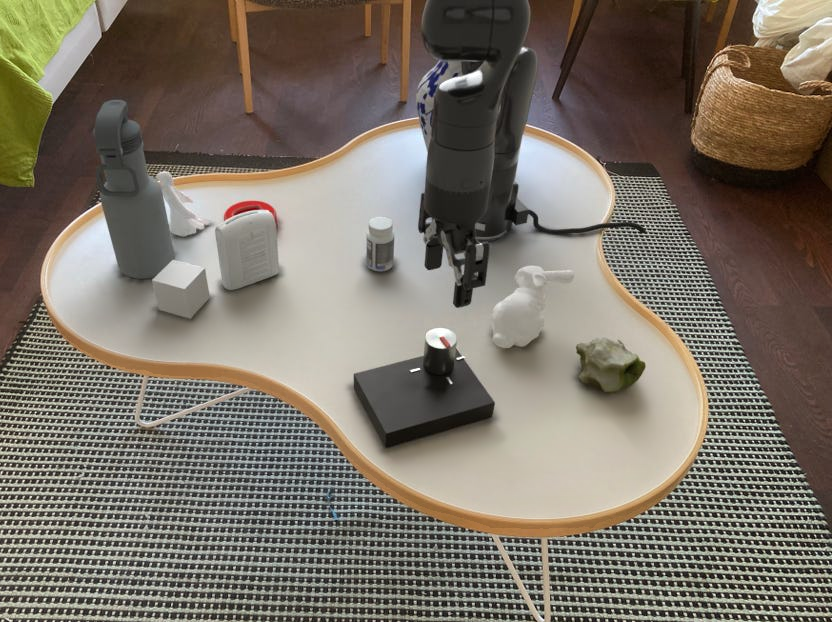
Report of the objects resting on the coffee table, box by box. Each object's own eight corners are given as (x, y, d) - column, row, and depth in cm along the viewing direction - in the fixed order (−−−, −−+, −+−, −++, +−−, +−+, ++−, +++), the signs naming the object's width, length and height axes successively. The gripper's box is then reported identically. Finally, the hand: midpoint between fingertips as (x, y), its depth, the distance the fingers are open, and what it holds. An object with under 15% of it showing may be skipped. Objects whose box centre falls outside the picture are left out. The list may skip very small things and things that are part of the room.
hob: (450, 353, 111) (452, 338, 109) (494, 417, 101) (497, 401, 99) (349, 380, 107) (349, 364, 104) (385, 448, 97) (385, 433, 95)
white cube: (178, 289, 123) (173, 259, 118) (210, 297, 121) (205, 267, 117) (158, 309, 118) (151, 279, 114) (190, 319, 117) (184, 288, 113)
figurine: (164, 221, 138) (152, 163, 130) (206, 214, 140) (197, 156, 131) (169, 243, 132) (157, 183, 124) (213, 235, 134) (204, 176, 126)
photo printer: (271, 261, 128) (265, 199, 120) (283, 274, 126) (278, 211, 117) (218, 281, 124) (208, 218, 116) (229, 294, 121) (220, 231, 113)
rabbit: (511, 304, 119) (523, 242, 111) (565, 326, 115) (581, 264, 107) (475, 344, 112) (485, 281, 104) (531, 369, 108) (546, 306, 100)
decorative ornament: (279, 214, 140) (277, 199, 137) (275, 242, 133) (274, 227, 130) (228, 214, 140) (226, 199, 137) (222, 242, 133) (220, 227, 130)
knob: (417, 359, 105) (419, 331, 102) (444, 350, 107) (447, 322, 103) (432, 378, 102) (435, 350, 99) (459, 369, 104) (463, 341, 100)
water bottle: (169, 282, 124) (136, 125, 105) (112, 282, 124) (68, 125, 105) (180, 248, 131) (151, 95, 112) (126, 248, 131) (87, 95, 112)
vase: (425, 195, 144) (438, 39, 124) (401, 151, 158) (409, 3, 138) (517, 186, 147) (543, 31, 127) (485, 143, 161) (505, -3, 140)
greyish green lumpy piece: (641, 407, 104) (653, 374, 98) (573, 403, 106) (581, 371, 100) (636, 355, 110) (647, 321, 103) (571, 352, 111) (578, 318, 105)
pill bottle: (397, 260, 128) (399, 219, 123) (387, 274, 125) (388, 233, 120) (372, 253, 130) (373, 212, 124) (361, 268, 127) (362, 226, 121)
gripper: (518, 197, 80) (498, 312, 91) (460, 140, 90) (448, 250, 101) (457, 210, 78) (444, 325, 89) (404, 151, 88) (398, 261, 99)
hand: (446, 285), depth 95 cm, fingers open, 8 cm apart
